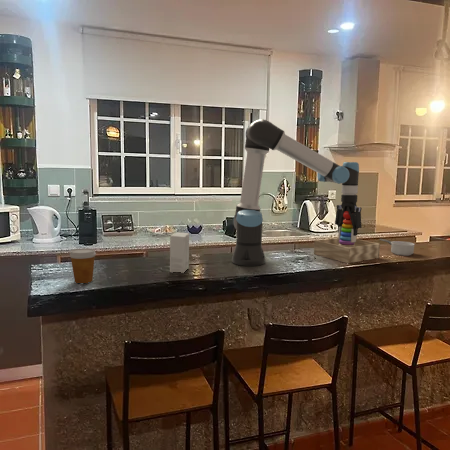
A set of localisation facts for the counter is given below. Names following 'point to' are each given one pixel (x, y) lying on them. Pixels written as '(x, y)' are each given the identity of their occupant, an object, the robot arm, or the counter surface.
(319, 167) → the robot arm
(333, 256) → the open-top box
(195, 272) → the counter surface
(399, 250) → the saucepan
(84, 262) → the disposable coffee cup
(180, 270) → the skincare box
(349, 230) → the stacking toy
